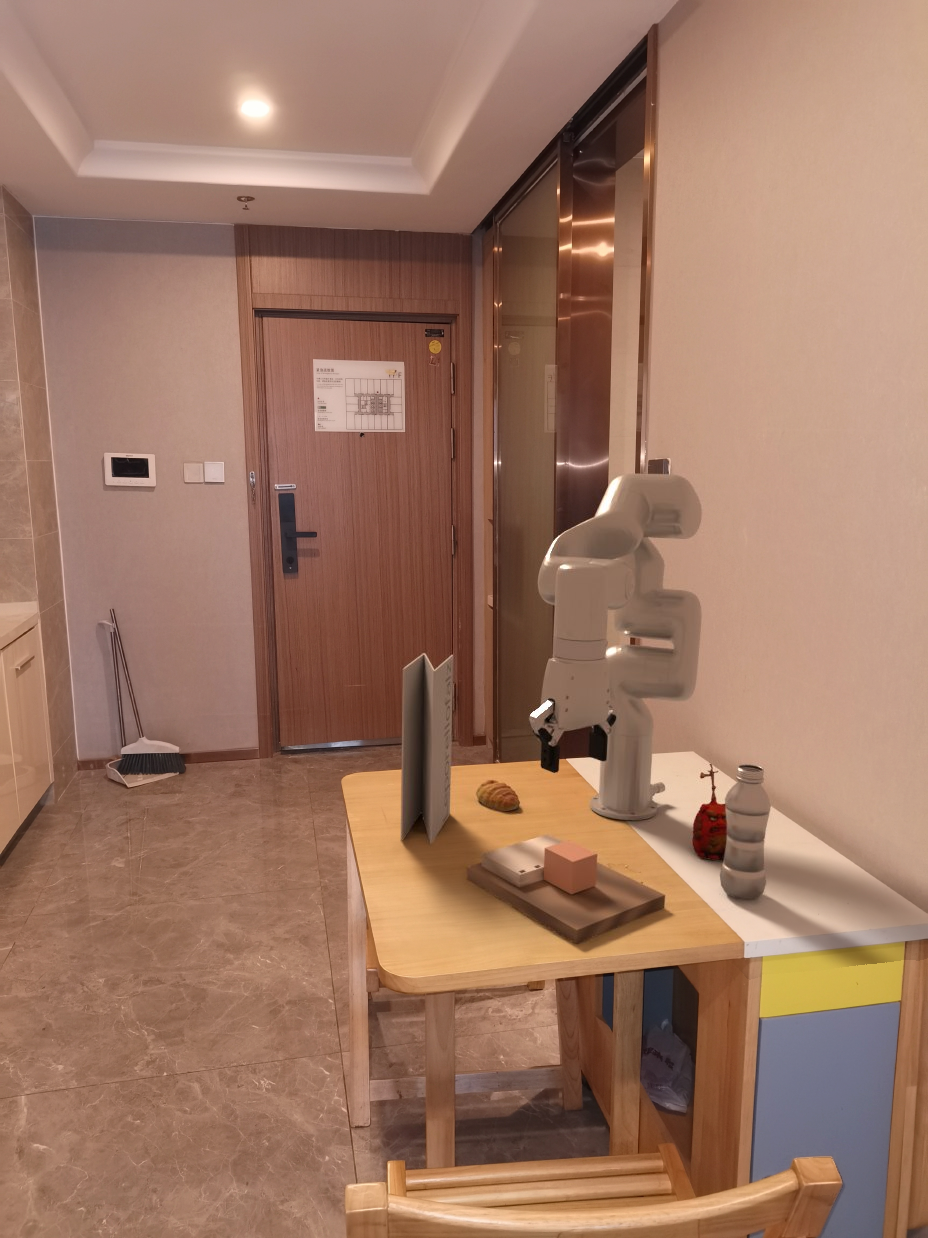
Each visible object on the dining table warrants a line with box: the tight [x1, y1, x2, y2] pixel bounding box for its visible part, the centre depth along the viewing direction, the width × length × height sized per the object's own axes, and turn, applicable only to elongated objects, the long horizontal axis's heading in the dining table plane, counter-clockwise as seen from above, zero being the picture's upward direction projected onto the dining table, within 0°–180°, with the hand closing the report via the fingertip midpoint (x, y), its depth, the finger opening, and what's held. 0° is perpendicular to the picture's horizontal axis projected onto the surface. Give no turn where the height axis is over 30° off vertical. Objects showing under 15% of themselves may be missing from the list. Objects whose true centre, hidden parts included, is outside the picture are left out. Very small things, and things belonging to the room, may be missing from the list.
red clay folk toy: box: [691, 763, 727, 861], centre depth 150 cm, size 8×7×15 cm
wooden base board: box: [466, 833, 666, 945], centre depth 135 cm, size 18×24×4 cm
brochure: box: [400, 652, 454, 844], centre depth 158 cm, size 14×6×30 cm, turn 168°
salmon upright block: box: [544, 840, 598, 894], centre depth 134 cm, size 5×6×5 cm
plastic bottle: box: [719, 763, 772, 900], centre depth 135 cm, size 6×7×20 cm
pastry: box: [475, 779, 521, 812], centre depth 172 cm, size 9×7×4 cm
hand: (574, 764), depth 131 cm, fingers open, 9 cm apart
